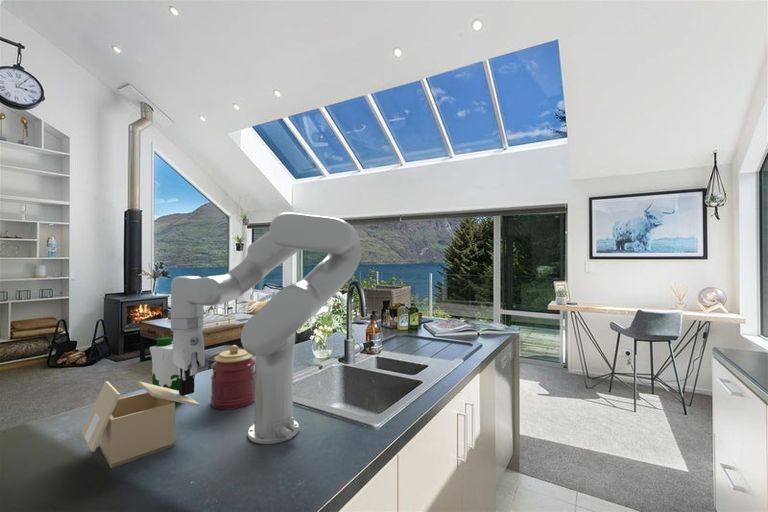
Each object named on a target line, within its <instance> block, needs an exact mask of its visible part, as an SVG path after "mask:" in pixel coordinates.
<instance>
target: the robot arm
mask: <svg viewBox="0 0 768 512" xmlns="http://www.w3.org/2000/svg"><path fill="white" fill-rule="evenodd" d="M268 229H269V230H268V231H267V232H266V233H265V234H263V235H262V236H260V237H259V238H258V239H256V240H255V241H253V242H252V243H251V244H249V246H248V247H247V253H246V256H245V258H244V259H243V260H242V261H241V262H240V263H238V265H236V266H235V267H234V268H232V269H230V270H229V271H228V272H227V273H225V274H217V275H211V276H198V275H180V276H178V275H177V276H176V277H173V278H172V280H171V283H170V284H171V285H170V287H171V288H170V331H171V332H173V334H172V335H173V336H172V342H173V350H172V356H173V363H174V364H175V365H177V366H178V369H179V378H181V379H179V394H180V395H181V396H184V395H188V396H189V395H193V394H194V393H195V378H196V375H198V367H199V368H203V367H204V366H205V365H206V364H205V363H206V362H205V342H204V341H205V339H204V333H203V329H204V309H205V306H208V307H214V306H217V305H222V304H224V303H229V302H232V301H234V300H237V299H238V298H239V297H241V296H243V295H244V294H245V293H246V292H248V291H250V290H251V289H252V288H254V287H255V286H256V285H257V284H258V283H260V282H261V281H263V279H264V278H265V277H266V276H268V275H269V273H270V272H272V271H273V270H274V269H276V268H277V267H278V266H280V265H281V264H283V263H284V262H285V261H287V260H288V259H290V258H291V257H292V256H294V255H296V254H297V253H298V252H300V251H307V252H314V253H315V252H316V253H323V254H327V255H326V256H325V257H324V258H323V259H322V260H321V261H320V262H319V263H318V264H316V265H315V266H314V268H312V270H311V271H309V272H308V274H306V275H305V276H304V277H303V278H302V279H300V280H299V281H297V282H295V283H291V284H288V285H286V286H285V287H283V288H281V289H280V290H279V291H277V293H275V294H274V296H272V297H271V298H270V299H269V300H268V301H267V302H265V304H264V305H263V306H262V307H261V308H259V309H258V311H256V312H255V313H254V314H253V315H252V316H251V317H250V318H249V319H248V320H247V321H246V322H245V324H244V325H243V326H242V330H241V332H240V333H241V334H240V343H241V345H242V347H243V350H246V351H247V352H248V353H249V354H251V355H253V357H255V359H254V360H255V365H254V370H255V400H254V413H253V415H254V420H253V421H254V423H253V424H252V425H251V426H250V427H249V428H248V430H247V438H248V439H249V440H250V441H251V442H253V443H256V444H261V445H272V444H273V445H274V444H279V443H282V442H286V441H288V440H291V439H292V438H294V437H295V436H296V435H297V434H298V432H299V431H300V430H299V428H300V427H299V426H300V425H299V423H298V421H296V420H295V417H294V416H293V415H294V414H293V413H294V355H295V353H294V352H295V351H294V350H295V344H296V332H297V331H298V330H299V329H300V328H302V326H303V325H305V323H307V322H308V321H309V320H311V318H313V317H314V316H316V315H317V313H318V312H319V311H320V310H321V308H322V307H324V306H325V305H326V303H327V302H328V301H329V300H330V299H331V298H333V297H334V295H336V294H337V292H338V291H339V290H340V289H341V288H343V286H344V285H345V284H346V283H348V281H349V280H350V279H351V278H352V277H353V276H354V274H355V272H356V271H357V269H358V267H359V265H360V262H361V258H362V243H361V240H360V235H359V234H358V232H357V230H356V229H355V227H354V226H353V225H351V223H349V222H347V221H345V220H343V219H341V218H338V217H337V218H336V217H330V216H322V215H321V216H320V215H314V214H311V215H310V214H304V213H298V212H297V213H296V212H292V211H291V212H288V211H286V212H282V213H280V214H277V215H276V216H275V217H273V219H272V221H271V223H270V225H269V228H268Z"/></svg>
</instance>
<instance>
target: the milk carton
mask: <svg viewBox="0 0 768 512" xmlns="http://www.w3.org/2000/svg"><path fill="white" fill-rule="evenodd" d="M172 350H173V336H161V337H157V338H156V344H155V345H153V346H150V347H149V352H150V355H151V360H152V364H151V365H152V375H151V376H152V377H151V378H152V379H151V380H152V383H151V384H152V385H156V386H160V387H164V388H169V389H173V390H177V391H179V379H181V378H179V369H178V366H177V365H175V364H174V363H173V356H172ZM173 402H174V403H175V407H177V406H178V405H180V404H181V403H180V402H176V401H173Z"/></svg>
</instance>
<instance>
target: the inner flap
mask: <svg viewBox="0 0 768 512" xmlns="http://www.w3.org/2000/svg"><path fill="white" fill-rule="evenodd" d="M137 385H139V387H141V388H142V389H143V390H144V391H146V392H148V393H149V394H150V395H151V396H153V397H158V398H162V399H167V400H171V401H176V402H180V404H186V405H190V406H194V407H200V405H201V404H200V403H199V402H198V401H197V400H195V399H193V398H192V397H190V395H189V394H188V395H184V396H181V395H180V394H179V391H177V390H173V389H169V388H164V387H160V386H156V385H152V383H147V382H143V381H138V383H137Z"/></svg>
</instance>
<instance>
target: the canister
mask: <svg viewBox="0 0 768 512" xmlns="http://www.w3.org/2000/svg"><path fill="white" fill-rule="evenodd" d="M253 357H254V355H251V354H249V353H248V352H247V351H246V350H245V349H244V348H243V349H242V348H241V349H240V348H239V345H236V344H233V345H231V346H230V347H229V350H224V351H221V352H219V354H218V355H216V356H214V358H213V360H214V362H213V363H212V364H211V365H210V368H211V370H212V374H211V377H210V379H211V393H210V394H211V396H210V402H211V407H213V408H214V409H219V410H233V409H234V410H235V409H239V408H243V407H244V408H245V406H248V405H251V404H252V403H253V402H255V359H254V358H253Z"/></svg>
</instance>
